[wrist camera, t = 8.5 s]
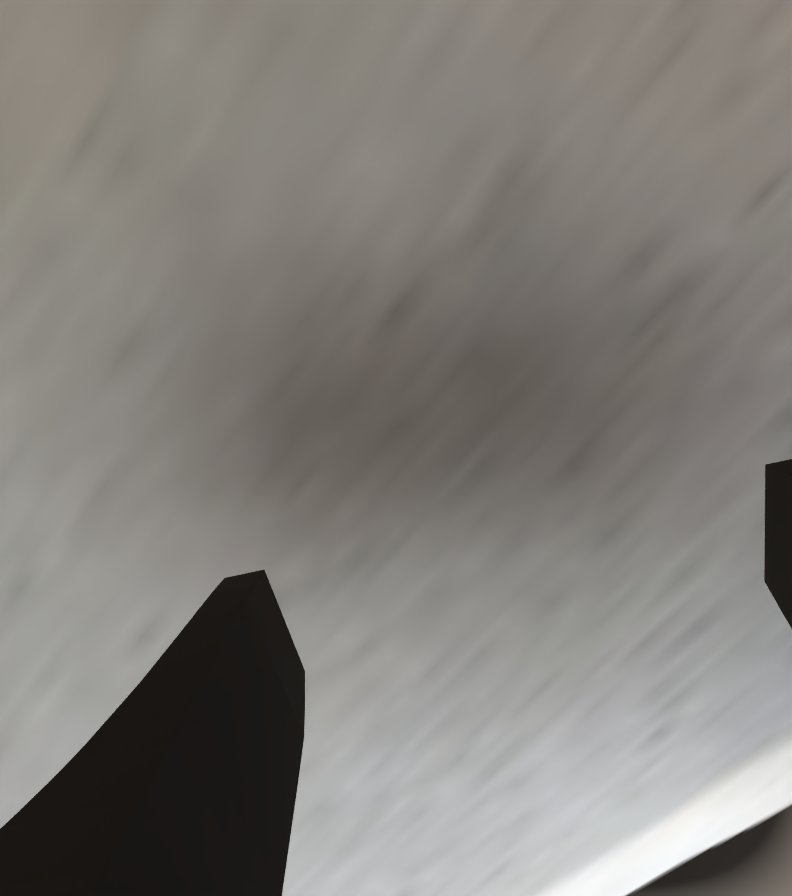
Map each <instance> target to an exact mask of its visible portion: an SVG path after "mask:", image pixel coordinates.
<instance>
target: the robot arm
mask: <svg viewBox="0 0 792 896" xmlns="http://www.w3.org/2000/svg"><path fill="white" fill-rule="evenodd" d="M765 583H766V584H767V586H768V588H769V590H770V591H771V593H772V595H773V597H774V599H775V600H776V602H777V604H778V606H779V607H780V609H781V611H782V613H783V615H784V616H785V618H786V620H787V621H788V623H789V624H790V626H791V628H792V459H790V460H785V461H781V462H776V463H771V464H766V467H765ZM304 717H305V670H304V668H303V665H302V663H301V660H300V658H299V655H298V653H297V650H296V648H295V645H294V643H293V640H292V638H291V635H290V633H289V630H288V628H287V625H286V623H285V620H284V618H283V615H282V613H281V610H280V608H279V605H278V603H277V600H276V598H275V595H274V593H273V590H272V588H271V585H270V583H269V580H268V578H267V575H266V573H265V570H261V571H256V572H251V573H246V574H242V575H237V576H232V577H227V578H224V579H223V581H222V582H221V583H220V584H219V585H218V586H217V587H216V589H215V590H214V591H213V592H212V593H211V595H210V596H209V597H208V598H207V600H206V601H205V602H204V603H203V605H202V606H201V607H200V608H199V610H198V611H197V612H196V613H195V615H194V616H193V617H192V619H191V620H190V621H189V622H188V624H187V625H186V626H185V627H184V629H183V630H182V631H181V632H180V634H179V635H178V636H177V638H176V639H175V640H174V641H173V642H172V644H171V645H170V646H169V647H168V649H167V650H166V651H165V652H164V654H163V655H162V656H161V657H160V659H159V660H158V661H157V662H156V663H155V665H154V666H153V667H152V668H151V670H150V671H149V672H148V673H147V675H146V676H145V677H144V678H143V680H142V681H141V682H140V683H139V684H138V685H137V687H136V688H135V689H134V690H133V691H132V692H131V693H130V695H129V696H128V697H127V698H126V699H125V700H124V701H123V703H122V704H121V705H120V706H119V707H118V708H117V709H116V710H115V712H114V713H113V714H112V715H111V716H110V717H109V718H108V720H107V721H106V722H105V723H104V724H103V725H102V726H101V728H100V729H99V730H98V731H97V732H96V733H95V734H94V736H93V737H92V738H91V739H90V740H89V741H88V742H87V743H86V744H85V746H84V747H83V748H82V749H81V750H80V751H79V752H78V753H77V754H76V755H75V756H74V757H73V758H72V759H71V760H70V761H69V762H68V763H67V764H66V765H65V767H64V768H63V769H62V770H61V771H60V772H59V773H58V774H57V775H56V776H55V777H54V778H53V779H52V780H51V781H50V782H49V783H48V784H47V785H46V786H45V787H44V788H43V789H42V790H40V791H39V792H38V793H37V794H36V795H35V796H34V797H33V798H32V799H31V800H30V801H29V802H28V803H27V804H26V805H25V806H24V807H23V808H22V809H21V810H20V811H19V812H18V813H17V814H16V815H15V816H14V817H13V818H11V819H10V820H9V821H8V822H7V823H6V824H5V825H4V826H3V827H2V828H1V829H0V896H282V890H283V883H284V876H285V869H286V862H287V855H288V848H289V841H290V834H291V827H292V820H293V813H294V806H295V799H296V792H297V785H298V778H299V770H300V763H301V756H302V748H303V740H304Z"/></svg>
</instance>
